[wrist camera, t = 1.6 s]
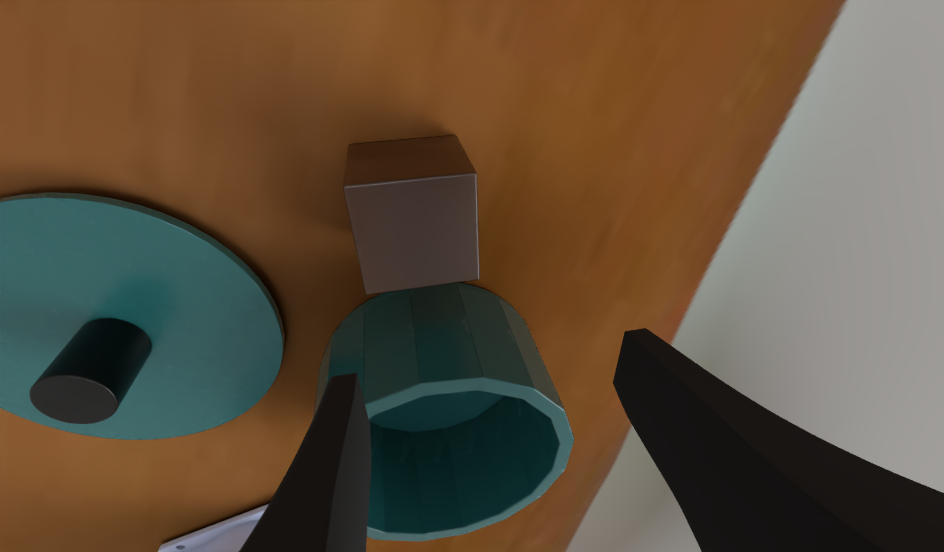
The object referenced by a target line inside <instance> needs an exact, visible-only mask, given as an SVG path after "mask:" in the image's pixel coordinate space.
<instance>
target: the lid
mask: <svg viewBox="0 0 944 552" xmlns="http://www.w3.org/2000/svg"><path fill="white" fill-rule="evenodd" d="M284 341H285V337H284V329H283V323H282V320H281V317H280V314H279V310H278V308H277V306H276V304H275V302H274V300H273V298H272V296H271V294H270V293H269V291H268V290H267V288H266V287H265V285H264V284H263V283H262V281H261V280H260V279H259V277H258V276H257V275H256V274H255V273H254V272H253V271H252V270H251V269H250V268H249V266H248V265H247V264H246V263H244V262H243V261H242V260H241V259H240V258H239V257H238V256H236V255H235V254H234V253H233V252H232V251H231V250H229V249H228V248H227V247H225V246H224V245H222V244H221V243H219V242H218V241H217V240H215V239H214V238H212V237H211V236H209V235H207V234H205V233H204V232H202V231H200V230H198V229H197V228H195V227H193V226H191V225H189V224H187V223H185V222H183V221H181V220H178V219H176V218H174V217H171V216H169V215H167V214H165V213H162V212H159V211H156V210H153V209H150V208H147V207H144V206H141V205H138V204H134V203H130V202H126V201H122V200H117V199H113V198H109V197H101V196H94V195H87V194H79V193H55V192H49V193H33V194H21V195H16V196H10V197H5V198H0V408H2V409H4V410H6V411H8V412H11V413H13V414H15V415H17V416H19V417H22V418H25V419H28V420H31V421H33V422H36V423H39V424H42V425H45V426H49V427H52V428H56V429H59V430H63V431H68V432H72V433H77V434H82V435H88V436H95V437H102V438H112V439H126V440H148V439H163V438H171V437H178V436H185V435H189V434H193V433H197V432H202V431H205V430H208V429H211V428H214V427H217V426H219V425H221V424H224V423H226V422H228V421H230V420H232V419H234V418H236V417H238V416H239V415H241V414H243V413H244V412H246V411H247V410H248V409H250V408H251V407H252V406H253V405H255V404H256V403H257V402H258V401H259V400H260V399H261V398H262V397H263V396H264V395H265V394H266V393H267V391H268V390H269V388H270V387H271V385H272V384H273V383H274V381H275V379H276V376H277V374H278V372H279V370H280V366H281V362H282V358H283V353H284Z"/></svg>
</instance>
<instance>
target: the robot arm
mask: <svg viewBox="0 0 944 552" xmlns="http://www.w3.org/2000/svg"><path fill="white" fill-rule="evenodd" d="M613 384H614V387H615V389H616V391H617V394H618V396H619V399H620V401H621V403H622V406H623V408H624V410H625V412H626V414H627V417H628V418H629V420H630V422H631V424H632V425H633V427H634V429H635V430H636V432H637V434H638V436H639V437H640V439H641V441H642V442H643V444H644V446H645V447H646V449H647V451H648V452H649V454H650V456H651V457H652V459H653V461H654V462H655V464H656V466H657V467H658V469H659V471H660V472H661V474H662V476H663V477H664V479H665V481H666V482H667V484H668V486H669V487H670V489H671V491H672V492H673V494H674V496H675V498H676V500H677V501H678V503H679V505H680V507H681V509H682V511H683V513H684V515H685V517H686V519H687V522H688V524H689V526H690V528H691V530H692V532H693V534H694V536H695V538H696V540H697V542H698V544H699V546H700V549H701V551H702V552H944V493H942V492H939V491H937V490H935V489H932V488H930V487H927V486H925V485H922V484H920V483H917V482H915V481H913V480H910V479H907V478H905V477H903V476H900V475H898V474H896V473H893V472H891V471H889V470H886V469H884V468H882V467H880V466H877V465H875V464H873V463H871V462H868V461H866V460H864V459H862V458H860V457H858V456H856V455H853V454H851V453H849V452H847V451H845V450H843V449H841V448H838V447H837V446H834V445H832V444H830V443H828V442H826V441H824V440H822V439H820V438H818V437H816V436H815V435H812V434H811V433H809V432H807V431H805V430H803V429H801V428H800V427H798V426H796V425H794V424H792V423H790V422H788V421H787V420H785V419H783V418H781V417H779V416H778V415H776V414H774V413H773V412H771V411H769V410H767V409H766V408H764V407H762V406H761V405H759V404H757V403H756V402H754V401H752V400H751V399H749V398H748V397H746V396H745V395H743V394H741V393H740V392H738V391H737V390H735V389H733V388H732V387H730V386H729V385H727V384H725V383H724V382H723V381H721V380H720V379H718V378H717V377H715V376H714V375H712V374H711V373H709V372H708V371H706V370H705V369H703V368H702V367H701V366H699V365H698V364H696V363H695V362H693V361H692V360H691V359H689V358H688V357H686V356H685V355H683V354H682V353H681V352H679V351H678V350H676V349H675V348H674V347H672V346H671V345H669V344H668V343H666V342H665V341H664V340H662V339H661V338H659V337H658V336H656V335H655V334H653V333H652V332H650V331H649V330H647V329H646V328H644V329H637V330H631V331H625V333H624V337H623V341H622V346H621V350H620V354H619V359H618V363H617V367H616V372H615V376H614V380H613ZM370 480H371V437H370V423H369V418H368V414H367V410H366V406H365V402H364V398H363V394H362V390H361V386H360V382H359V378H358V374H357V373H351V374H345V375H338V376H332V377H331V378H330V379H329V380H328V383H327V386H326V389H325V392H324V394H323V397H322V399H321V402H320V404H319V407H318V409H317V411H316V414H315V416H314V418H313V420H312V423H311V425H310V427H309V429H308V431H307V433H306V435H305V437H304V440H303V442H302V444H301V446H300V448H299V450H298V452H297V454H296V456H295V458H294V460H293V462H292V464H291V465H290V467H289V469H288V471H287V473H286V475H285V476H284V478H283V480H282V482H281V484H280V485H279V487H278V489H277V491H276V493H275V494H274V496H273V498H272V500H271V501H270V503H269V504H267V505H264V506H262V507H259V508H256V509H254V510H251V511H248V512H246V513H243V514H241V515H238V516H235V517H233V518H230V519H227V520H225V521H222V522H219V523H217V524H214V525H211V526H209V527H206V528H204V529H201V530H198V531H196V532H193V533H190V534H188V535H185V536H182V537H180V538H177V539H174V540H172V541H169V542H167V543H164V544H162V545H161V546H160V547H159V550H158V552H366V539H367V524H368V510H369V495H370Z"/></svg>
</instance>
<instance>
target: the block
mask: <svg viewBox="0 0 944 552" xmlns="http://www.w3.org/2000/svg"><path fill="white" fill-rule="evenodd" d="M343 190H344V194H345V199H346V204H347V209H348V213H349V218H350V223H351V227H352V232H353V237H354V241H355V246H356V251H357V256H358V260H359V265H360V270H361V274H362V279H363V284H364V288H365V293H366V294H367V295H369V294H376V293H384V292H391V291H398V290H406V289H413V288H421V287H428V286H435V285H443V284H450V283H457V282H465V281H472V280H478V279H479V278H480V272H479V235H478V197H477V173H476V171H475V169H474V167H473V166H472V164H471V162H470V160H469V158H468V156H467V155H466V153H465V151H464V149H463V147H462V145H461V144H460V142H459V140H458V138H457V136H456V135H451V136H440V137H429V138H417V139H406V140H395V141H384V142H373V143H361V144H350V145H349V148H348V155H347V162H346V169H345V177H344V184H343Z"/></svg>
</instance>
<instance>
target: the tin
mask: <svg viewBox="0 0 944 552" xmlns="http://www.w3.org/2000/svg"><path fill="white" fill-rule="evenodd" d="M351 373H357V374H358V378H359V382H360V386H361V390H362V394H363V398H364V402H365V406H366V410H367V414H368V418H369V423H370V437H371V480H370V495H369V510H368V524H367V537H369V538H372V539H376V540H377V539H378V540H396V541H426V540H432V539H438V538H444V537H450V536H456V535H462V534H466V533H469V532H472V531H475V530H477V529H480V528H483V527H485V526H488V525H491V524H493V523H496V522H499V521H502V520H504V519H506V518H508V517H510V516H511V515H513V514H514V513H516V512H518V511H519V510H521V509H522V508H524V507H525V506H527V505H529V504H530V503H532V502H533V501H535V500H537V499H538V498H540V496H542V495H543V494H544V493H545V492H546V490H547V489H548V488H549V487H550V486H551V485H552V484H553V483H554V481H555V480H556V479H557V478H558V477H559V476H560V475H561V474H562V472H563V471H564V469H565V468H566V465H567V462H568V458H569V455H570V452H571V449H572V446H573V443H574V436H573V433H572V430H571V427H570V424H569V421H568V418H567V415H566V412H565V409H564V407H563V405H562V403H561V400H560V398H559V396H558V394H557V391H556V389H555V387H554V385H553V383H552V380H551V378H550V376H549V374H548V371H547V369H546V367H545V365H544V363H543V360H542V358H541V356H540V354H539V351H538V349H537V347H536V345H535V343H534V340H533V338H532V336H531V334H530V331H529V329H528V327H527V325H526V323H525V321H524V319H523V318H521V317H520V315H519V314H518V312H517V311H516V310H515V309H514V308H513V307H512V306H511V305H510V304H509V303H507V302H506V301H505V300H503V299H502V298H500V297H499V296H497V295H495V294H493V293H491V292H489V291H487V290H484V289H482V288H479V287H476V286H472V285H468V284H464V283H450V284H443V285H435V286H428V287H421V288H413V289H406V290H398V291H391V292H384V293H382V294H380V295H378V296H376V297H373V298H372V299H370V300H368V301H367V302H365V303H363V304H362V305H360V306H359V307H358V308H356V309H355V310H354V311H353V312H351V313H350V314H349V315H348V316H347V317H346V318H345V319H344V320H343V321H342V322H341V323H340V324H339V326H338V327H337V328H336V330H335V331H334V332H333V334H332V336H331V338H330V340H329V342H328V344H327V346H326V349H325V352H324V356H323V360H322V362H321V364H320V369H319V376H318V383H317V391H316V398H315V406H314V413H313V418H314V416H315V414H316V411H317V409H318V407H319V404H320V402H321V399H322V397H323V394H324V392H325V389H326V386H327V383H328V380H329V379H330V378H331V377H332V376H338V375H345V374H351Z"/></svg>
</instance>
